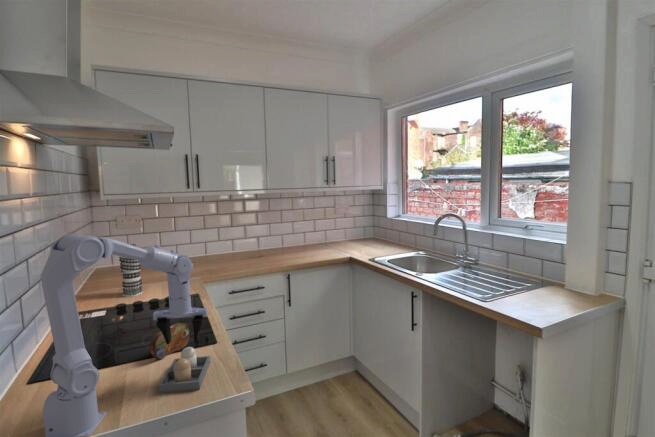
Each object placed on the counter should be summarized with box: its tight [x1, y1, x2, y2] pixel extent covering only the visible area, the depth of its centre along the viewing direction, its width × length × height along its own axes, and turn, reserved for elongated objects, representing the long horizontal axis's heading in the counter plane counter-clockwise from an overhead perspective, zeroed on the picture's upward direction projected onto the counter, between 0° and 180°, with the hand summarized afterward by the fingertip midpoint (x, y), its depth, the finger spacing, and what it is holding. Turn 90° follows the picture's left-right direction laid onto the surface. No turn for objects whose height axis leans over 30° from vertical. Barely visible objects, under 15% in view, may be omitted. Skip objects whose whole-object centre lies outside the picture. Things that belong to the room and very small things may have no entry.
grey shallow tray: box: [158, 355, 211, 394], centre depth 100 cm, size 10×14×3 cm
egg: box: [180, 346, 198, 369], centre depth 103 cm, size 4×4×7 cm
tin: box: [149, 322, 192, 360], centre depth 115 cm, size 15×3×8 cm, turn 158°
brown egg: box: [174, 357, 192, 383], centre depth 96 cm, size 4×4×7 cm
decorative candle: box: [118, 243, 143, 298], centre depth 175 cm, size 9×9×25 cm
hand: (182, 341), depth 102 cm, fingers open, 7 cm apart
